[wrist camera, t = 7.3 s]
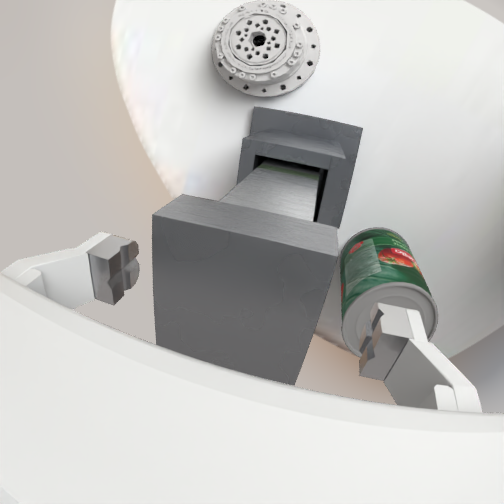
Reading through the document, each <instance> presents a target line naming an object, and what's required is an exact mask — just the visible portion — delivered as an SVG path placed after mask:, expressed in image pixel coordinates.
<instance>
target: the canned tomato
mask: <svg viewBox="0 0 504 504" xmlns="http://www.w3.org/2000/svg"><path fill="white" fill-rule="evenodd" d="M340 269H341V272H340V274H341V297H342V298H341V301H342V336H343V339H344V342H345V344H346V345H347V347H348V348H349V350H350V351H352V352H353V353H354V354H355V355H356V356H358V357H360V358H361V356H362V354H361V352H360V351H359V343H360V337H361V334H362V330H363V328H364V326H365V323H367V322H368V321H370V320H371V317H370V312H371V309H372V307H373V305H374V304H375V302H377V303H382V304H387V305H392V306H397V307H402V308H408V309H413V310H417V311H419V313H420V316H421V319H422V322H423V326H424V329H425V333H426V336H427V340H428V342H429V340H430V339H431V338H432V336H433V334H434V332H435V330H436V327H437V324H438V311H437V306H436V304H435V302H434V300H433V298H432V296H431V293H430V291H429V289H428V287H427V284H426V282H425V280H424V278H423V276H422V273H421V271H420V269H419V267H418V265H417V263H416V261H415V259H414V257H413V255H412V253H411V251H410V248H409V246H408V244H407V242H406V241H405V240H404V239H403V238H402V236H400V235H399V234H398V233H396V232H394V231H392V230H390V229H386V228H377V227H375V228H369V229H366V230H363V231H361V232H359V233H357V234H355V235H354V236H353V237H352V238H351V239H350V240H349V241H348V242H347V243H346V245H345V246H344V248H343V250H342V253H341V257H340Z"/></svg>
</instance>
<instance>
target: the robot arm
mask: <svg viewBox="0 0 504 504" xmlns="http://www.w3.org/2000/svg"><path fill="white" fill-rule="evenodd" d="M138 254H139V251H138V244H137V243H136V241H133V240H129V239H126V238H123V237H119V236H116V235H113V234H109V233H105V232H100V233H98V234H96V235H95V236H93V237H92V238H90V239H88V240H87V241H85V242H84V243H83V244H81V245H79V246H78V247H76V248H75V249H73V248H69V249H64V250H60V251H56V252H51V253H46V254H42V255H38V256H33V257H29V258H25V259H20V260H17V261H16V262H14V263H13V264H11V265H10V266H8V267H7V268H5V269H4V270H3V271H2V272H0V504H504V413H483V412H482V408H481V404H480V401H479V397H478V394H477V390H476V388H475V387H474V386H473V384H472V383H471V382H470V381H469V380H468V379H467V378H466V377H465V376H464V375H463V374H462V373H461V372H460V371H459V370H458V369H457V368H456V367H455V366H454V365H453V364H452V363H451V362H450V361H449V360H448V359H447V358H446V356H445V355H444V354H443V353H442V352H441V351H440V350H439V349H438V348H437V347H436V346H435V345H434V344H433V343H429V342H428V340H427V336H426V333H425V329H424V326H423V322H422V319H421V316H420V313H419V311H417V310H413V309H408V308H402V307H397V306H392V305H387V304H382V303H377V302H375V304H374V305H373V307H372V309H371V312H370V317H371V320H370V321H368V322H367V323H365V326H364V328H363V330H362V334H361V337H360V343H359V351H360V352H361V354H362V356H361V358H360V360H359V368H360V376H363V377H368V378H372V379H378V380H383V381H384V383H385V385H386V387H387V388H388V390H389V392H390V393H391V395H392V397H393V398H394V400H395V402H396V403H397V405H392V404H385V403H378V402H372V401H366V400H359V399H354V398H348V397H343V396H338V395H332V394H327V393H322V392H318V391H313V390H308V389H304V388H300V387H295V386H291V385H287V384H283V383H279V382H275V381H271V380H267V379H263V378H260V377H256V376H252V375H249V374H245V373H241V372H238V371H235V370H231V369H228V368H224V367H221V366H218V365H214V364H211V363H208V362H205V361H202V360H199V359H196V358H193V357H190V356H187V355H184V354H181V353H178V352H175V351H172V350H169V349H167V348H164V347H161V346H158V345H156V344H153V343H150V342H148V341H145V340H142V339H140V338H137V337H135V336H132V335H130V334H127V333H124V332H122V331H120V330H117V329H115V328H112V327H110V326H108V325H105V324H103V323H100V322H98V321H96V320H94V319H92V318H89V317H87V316H85V315H83V314H80V313H78V312H76V311H74V310H72V309H74V308H77V307H79V306H82V305H84V304H86V303H88V302H91V301H93V300H95V299H97V300H100V301H103V302H106V303H108V304H111V305H115V304H116V303H117V302H118V301H119V300H120V299H121V298H122V297H123V296H124V290H128V289H131V288H132V287H133V286H134V285H135V283H136V281H137V279H138V276H139V271H140V270H139V263H138V261H137V260H136V256H137V255H138Z"/></svg>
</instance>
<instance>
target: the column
mask: <svg viewBox="0 0 504 504" xmlns="http://www.w3.org/2000/svg"><path fill="white" fill-rule="evenodd" d="M319 172H320V168H319V167H315V166H310V165H305V164H301V163H296V162H291V161H286V160H281V159H276V158H271V157H269V158H268V159H267V160H265V161H264V162H263V163H262V164H261V165H260V166H258V167H257V168H256V169H255V170H254V171H253V172H251V173H250V174H249V175H248V176H247V177H246V178H245V179H243V180H242V181H241V182H240V183H239V184H238V185H237V186H236V187H234V188H233V189H232V190H231V191H230V192H229V193H228V194H227V195H225V196H224V197H223V198H222V199H221V200H220V201H215V200H210V199H205V198H200V197H195V196H189V195H184V194H182V195H181V196H179V197H178V198H176V199H174V200H173V201H171V202H170V203H169V204H167V205H166V206H164V207H163V208H161V209H160V210H158V211H157V212H155V213H154V214H153V215H152V261H153V262H152V264H153V294H154V295H153V296H154V316H155V330H156V345H158V346H161V347H164V348H167V349H169V350H172V351H175V352H178V353H181V354H184V355H187V356H190V357H193V358H196V359H199V360H202V361H205V362H208V363H211V364H214V365H218V366H221V367H224V368H228V369H231V370H235V371H238V372H241V373H245V374H249V375H253V376H257V377H260V378H264V379H268V380H273V381H277V382H281V383H285V384H290V385H295V382H296V380H297V377H298V375H299V372H300V369H301V367H302V363H303V361H304V359H305V356H306V353H307V350H308V348H309V344H310V342H311V339H312V336H313V333H314V331H315V328H316V325H317V322H318V319H319V316H320V313H321V310H322V307H323V304H324V301H325V298H326V295H327V292H328V289H329V285H330V282H331V279H332V276H333V272H334V269H335V266H336V263H337V259H338V238H337V227H333V226H329V225H325V224H321V223H316V222H313V217H314V210H315V203H316V195H317V188H318V180H319Z"/></svg>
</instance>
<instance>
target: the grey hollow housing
mask: <svg viewBox="0 0 504 504" xmlns="http://www.w3.org/2000/svg"><path fill="white" fill-rule="evenodd" d="M362 129H363V128H361V127H357V126H353V125H349V124H345V123H340V122H336V121H332V120H327V119H323V118H318V117H313V116H308V115H303V114H298V113H293V112H287V111H281V110H275V109H269V108H263V107H254V111H253V118H252V125H251V132H250V136H247V137H245V138H243V141H242V148H241V155H240V163H239V170H238V178H237V185H238V184H239V183H240V182H241V181H242V180H243V179H245V178H246V177H247V176H248V175H249V174H250V173H251V172H253V171H254V170H255V169H256V168H257V167H258V166H260V165H261V164H262V163H263V162H264V161H265V160H267V159H268V158H269V157H271V158H276V159H281V160H286V161H291V162H296V163H301V164H305V165H310V166H315V167H319V168H320V172H319V180H318V188H317V195H316V203H315V210H314V217H313V222H316V223H321V224H325V225H329V226H333V227H337V228H338V229H339V227H340V223H341V219H342V216H343V212H344V208H345V204H346V200H347V196H348V192H349V188H350V184H351V179H352V175H353V171H354V166H355V162H356V158H357V153H358V148H359V144H360V139H361V134H362ZM237 185H236V186H237Z"/></svg>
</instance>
